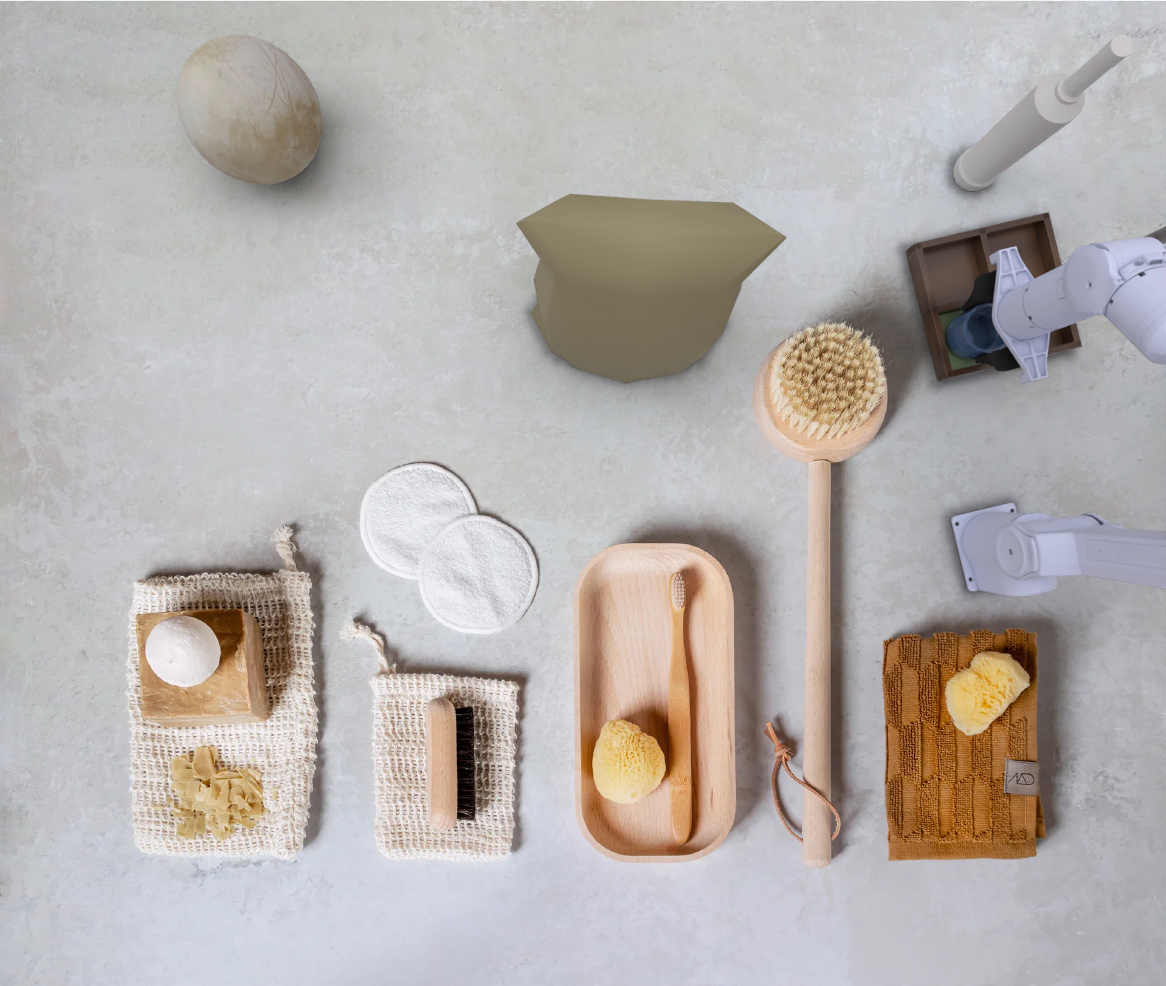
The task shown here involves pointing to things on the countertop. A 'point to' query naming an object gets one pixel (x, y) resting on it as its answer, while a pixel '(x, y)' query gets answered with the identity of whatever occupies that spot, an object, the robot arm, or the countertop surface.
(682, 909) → the countertop surface
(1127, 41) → the bottle
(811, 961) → the countertop surface
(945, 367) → the tray
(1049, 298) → the robot arm
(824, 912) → the countertop surface
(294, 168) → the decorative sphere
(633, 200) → the container
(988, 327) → the cup
